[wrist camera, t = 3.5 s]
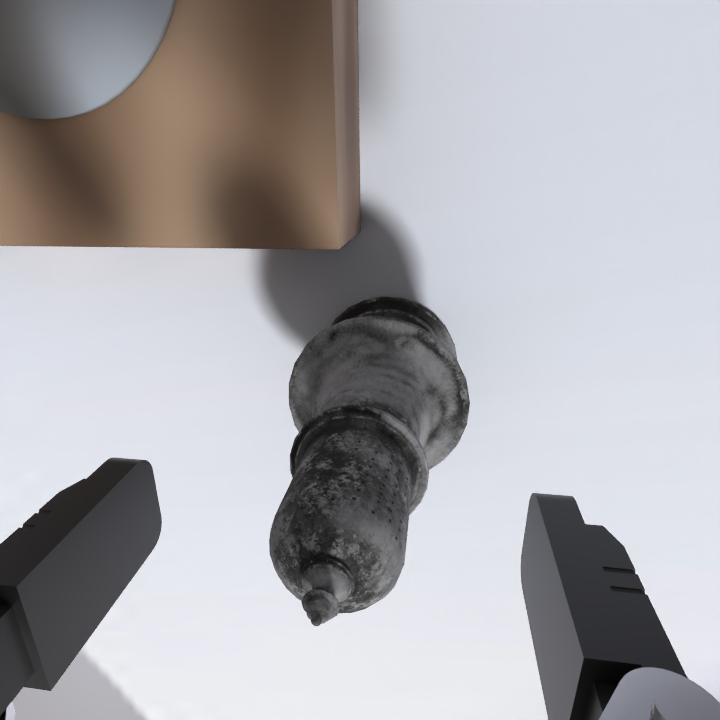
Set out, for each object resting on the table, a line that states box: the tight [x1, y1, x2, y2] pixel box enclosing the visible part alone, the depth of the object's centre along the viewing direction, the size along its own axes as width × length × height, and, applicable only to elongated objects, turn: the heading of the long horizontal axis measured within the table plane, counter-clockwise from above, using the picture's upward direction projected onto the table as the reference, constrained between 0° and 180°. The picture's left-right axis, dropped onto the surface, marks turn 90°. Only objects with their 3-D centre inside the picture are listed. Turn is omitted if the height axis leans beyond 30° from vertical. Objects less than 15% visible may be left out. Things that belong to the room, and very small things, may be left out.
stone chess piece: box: [269, 297, 470, 626], centre depth 14 cm, size 6×6×12 cm
